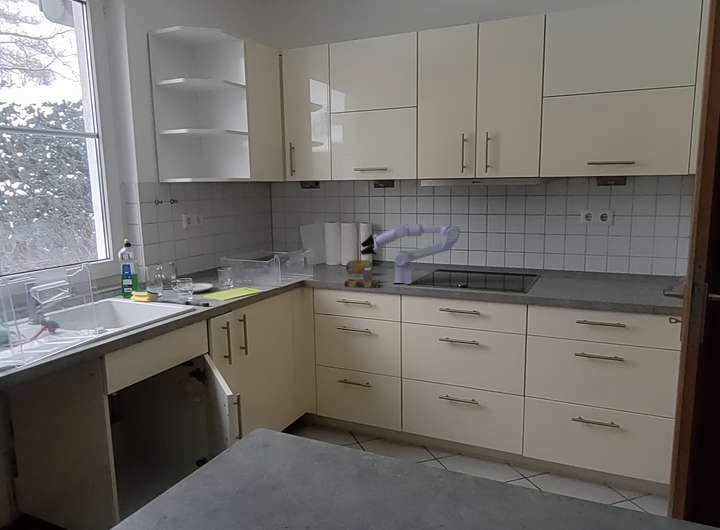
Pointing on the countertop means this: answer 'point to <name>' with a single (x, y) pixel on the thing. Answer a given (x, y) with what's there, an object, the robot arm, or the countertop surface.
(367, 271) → the plug
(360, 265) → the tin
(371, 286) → the brown flat block
